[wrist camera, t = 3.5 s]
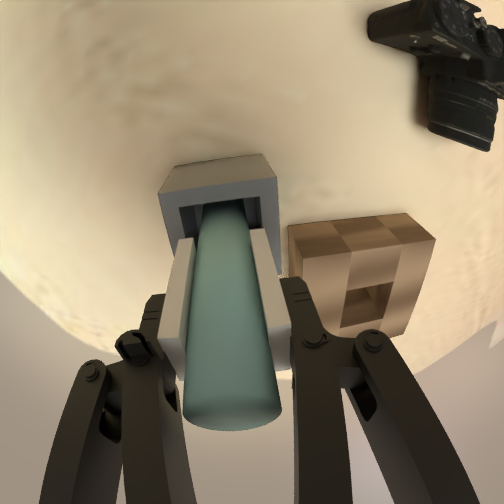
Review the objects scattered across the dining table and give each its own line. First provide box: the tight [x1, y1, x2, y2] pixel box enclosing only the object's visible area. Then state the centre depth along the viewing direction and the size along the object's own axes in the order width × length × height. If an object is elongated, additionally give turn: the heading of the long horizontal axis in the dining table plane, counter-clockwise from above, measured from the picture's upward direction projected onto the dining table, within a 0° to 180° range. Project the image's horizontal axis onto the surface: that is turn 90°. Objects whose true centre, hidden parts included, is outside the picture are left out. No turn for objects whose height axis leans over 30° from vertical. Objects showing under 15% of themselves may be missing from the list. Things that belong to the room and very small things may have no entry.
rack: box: [288, 213, 436, 338], centre depth 24 cm, size 12×12×5 cm
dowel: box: [183, 198, 282, 431], centre depth 14 cm, size 3×3×16 cm
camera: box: [368, 0, 504, 152], centre depth 12 cm, size 14×11×10 cm
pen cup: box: [158, 154, 282, 275], centre depth 19 cm, size 7×7×6 cm
